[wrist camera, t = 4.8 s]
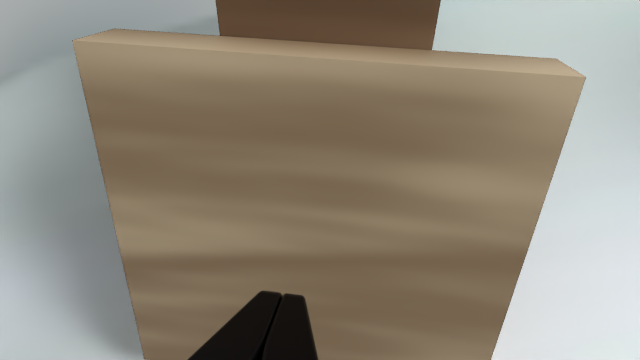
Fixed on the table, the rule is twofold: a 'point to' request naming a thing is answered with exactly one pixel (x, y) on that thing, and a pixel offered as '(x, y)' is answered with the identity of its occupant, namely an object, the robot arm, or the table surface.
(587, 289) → the table surface
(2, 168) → the table surface
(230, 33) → the domino
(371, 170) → the square wooden board
